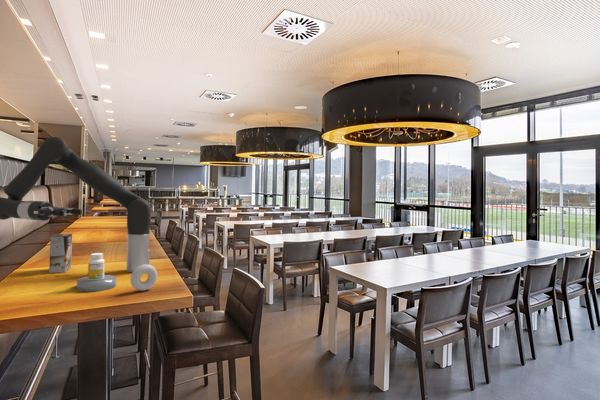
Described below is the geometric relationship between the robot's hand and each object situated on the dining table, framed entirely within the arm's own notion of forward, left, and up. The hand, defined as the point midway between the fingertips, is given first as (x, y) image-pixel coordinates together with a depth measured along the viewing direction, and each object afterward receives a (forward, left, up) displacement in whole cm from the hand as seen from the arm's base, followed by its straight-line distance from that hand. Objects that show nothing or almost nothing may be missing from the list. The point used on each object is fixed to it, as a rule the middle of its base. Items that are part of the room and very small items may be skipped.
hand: (72, 212), depth 133 cm
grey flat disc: (-9, +7, -28) cm, 30 cm away
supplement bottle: (-8, +7, -25) cm, 27 cm away
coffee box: (+4, -27, -28) cm, 39 cm away
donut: (-24, +19, -28) cm, 41 cm away
